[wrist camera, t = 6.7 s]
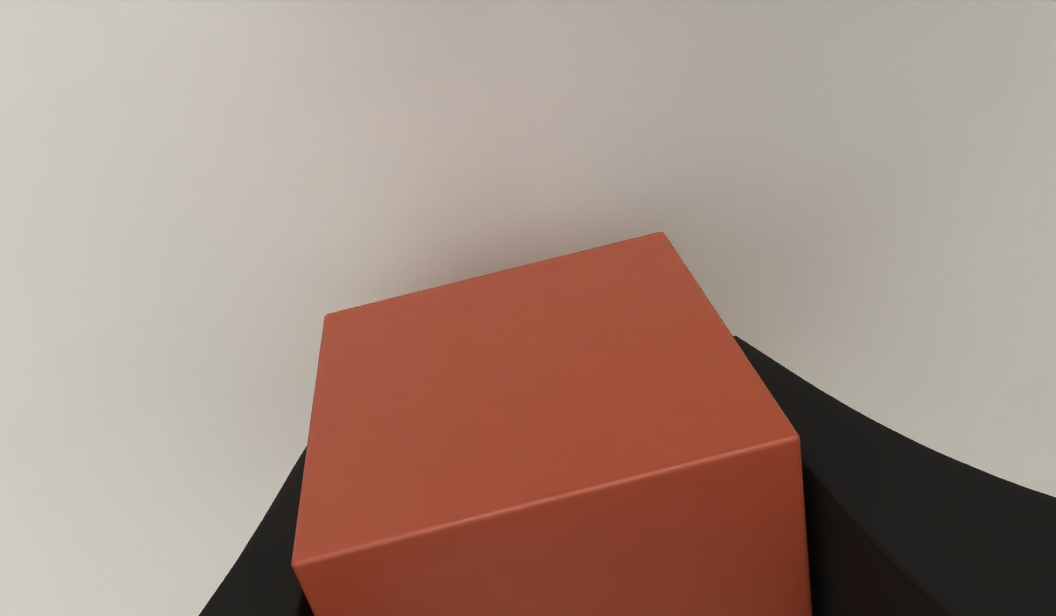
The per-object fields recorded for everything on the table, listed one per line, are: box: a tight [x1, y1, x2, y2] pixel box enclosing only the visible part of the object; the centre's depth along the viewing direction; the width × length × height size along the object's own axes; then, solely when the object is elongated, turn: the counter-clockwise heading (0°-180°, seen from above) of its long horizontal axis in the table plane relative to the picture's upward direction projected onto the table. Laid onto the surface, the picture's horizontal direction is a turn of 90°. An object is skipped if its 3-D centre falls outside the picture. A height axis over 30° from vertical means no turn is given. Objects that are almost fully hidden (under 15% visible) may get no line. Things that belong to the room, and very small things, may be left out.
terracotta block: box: [291, 232, 813, 616], centre depth 11 cm, size 4×4×4 cm
